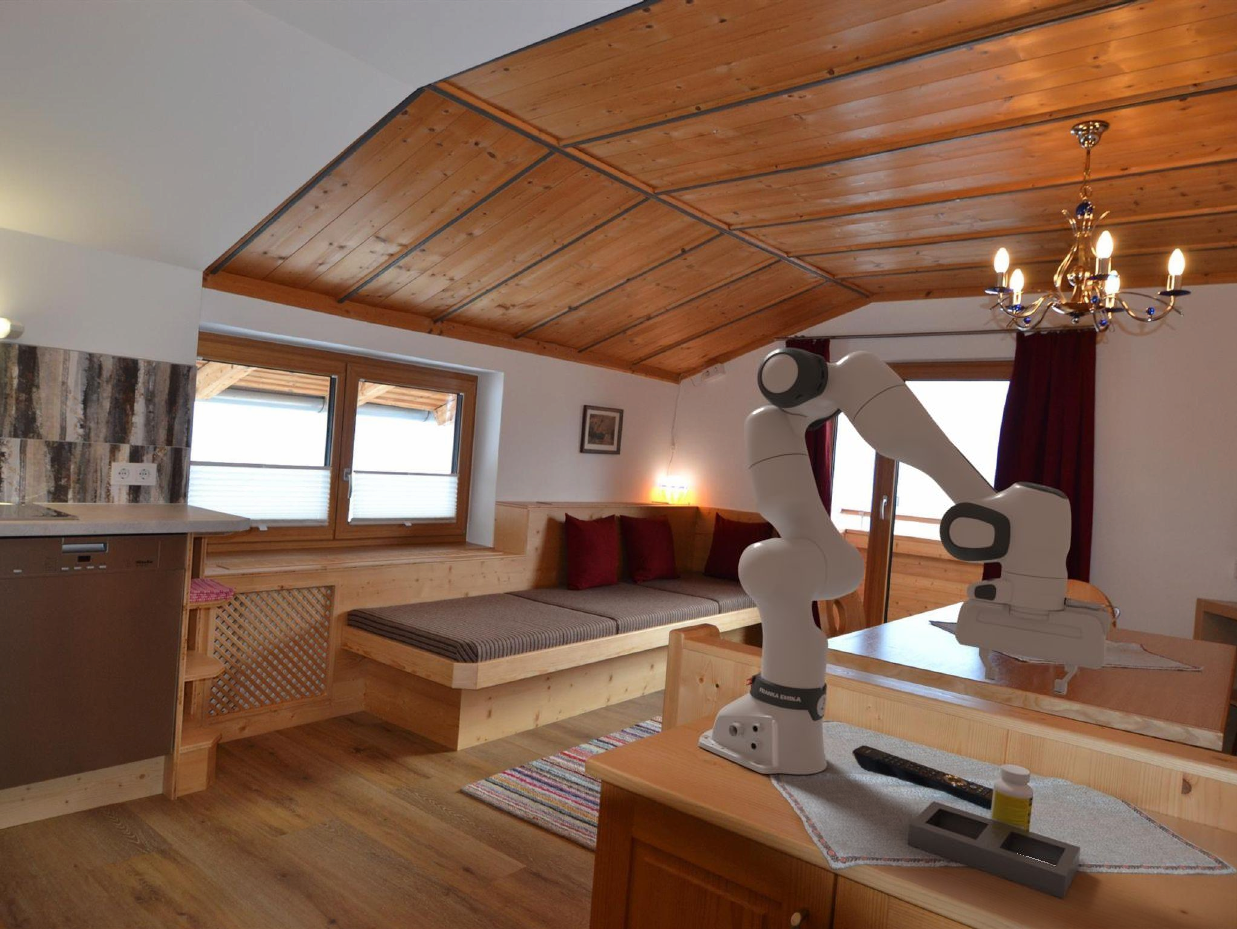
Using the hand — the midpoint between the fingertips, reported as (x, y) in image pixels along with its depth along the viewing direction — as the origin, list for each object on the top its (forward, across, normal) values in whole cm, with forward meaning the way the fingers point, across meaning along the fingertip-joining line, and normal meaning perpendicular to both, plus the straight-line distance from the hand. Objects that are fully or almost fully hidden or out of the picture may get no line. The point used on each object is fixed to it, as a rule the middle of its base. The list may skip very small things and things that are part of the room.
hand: (1024, 686), depth 129 cm
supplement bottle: (+22, 0, 0) cm, 23 cm away
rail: (+22, +1, +10) cm, 24 cm away
